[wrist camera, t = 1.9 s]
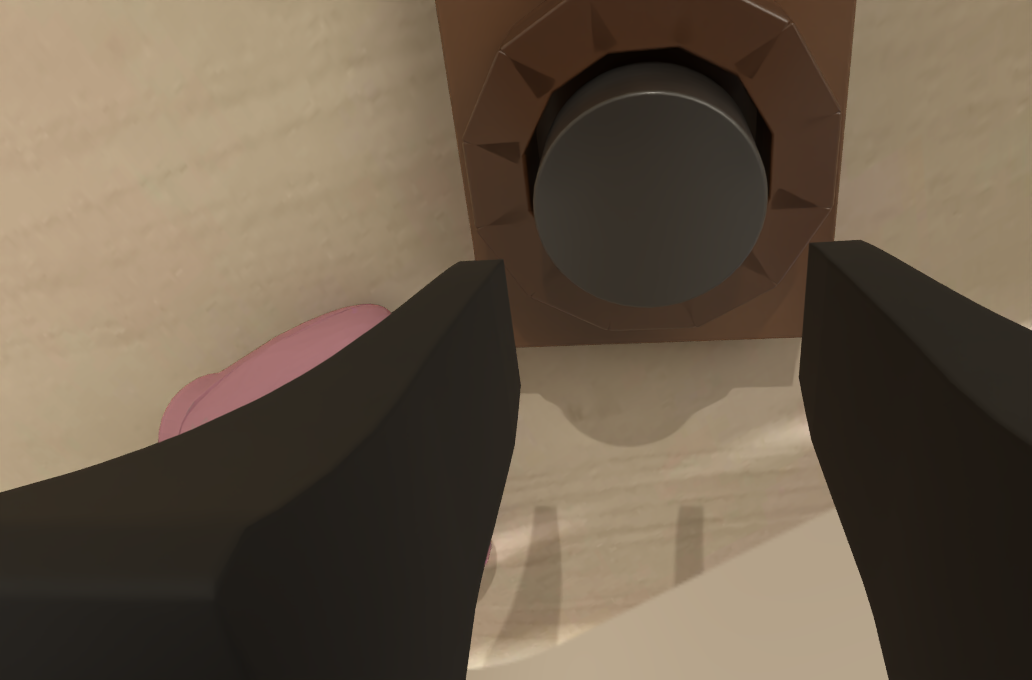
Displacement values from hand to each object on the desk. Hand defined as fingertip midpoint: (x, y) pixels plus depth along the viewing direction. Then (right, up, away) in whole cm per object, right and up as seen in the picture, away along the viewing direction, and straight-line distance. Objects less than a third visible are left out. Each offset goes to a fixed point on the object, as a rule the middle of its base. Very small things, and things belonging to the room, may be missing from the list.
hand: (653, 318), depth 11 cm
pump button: (+1, +3, +5) cm, 6 cm away
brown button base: (+1, +5, +8) cm, 9 cm away
